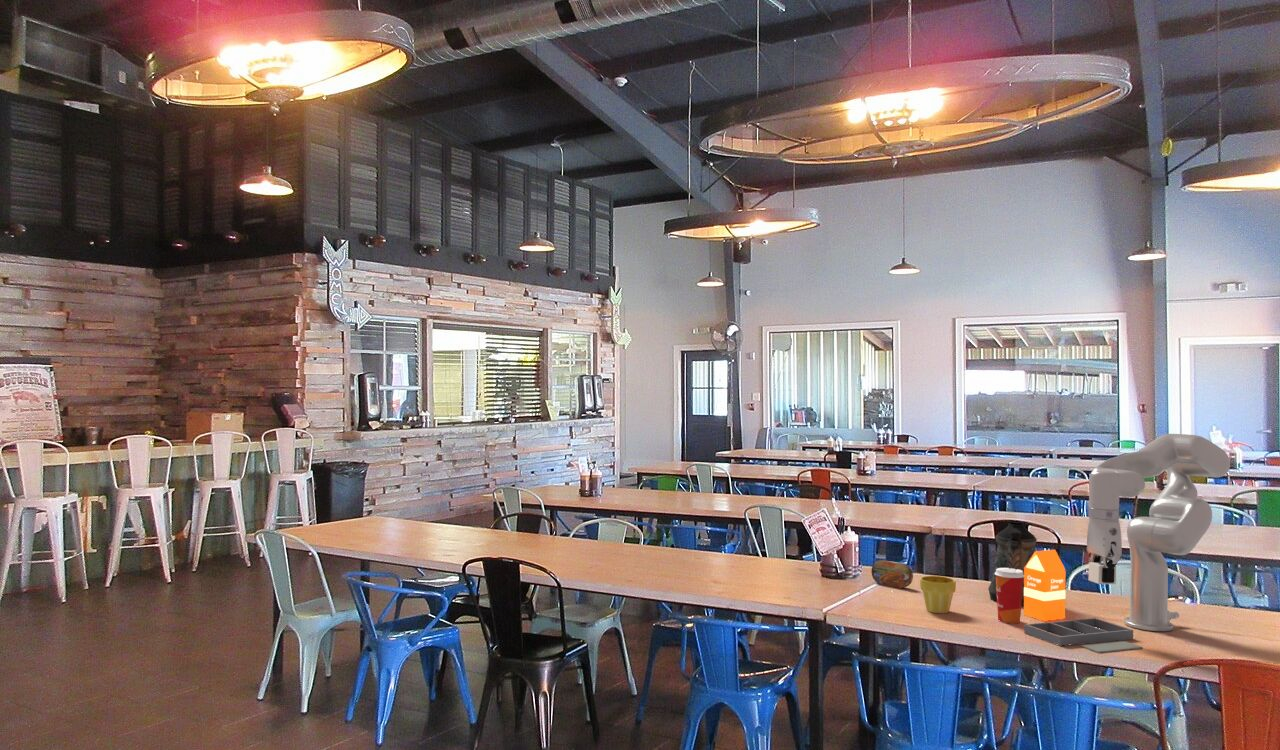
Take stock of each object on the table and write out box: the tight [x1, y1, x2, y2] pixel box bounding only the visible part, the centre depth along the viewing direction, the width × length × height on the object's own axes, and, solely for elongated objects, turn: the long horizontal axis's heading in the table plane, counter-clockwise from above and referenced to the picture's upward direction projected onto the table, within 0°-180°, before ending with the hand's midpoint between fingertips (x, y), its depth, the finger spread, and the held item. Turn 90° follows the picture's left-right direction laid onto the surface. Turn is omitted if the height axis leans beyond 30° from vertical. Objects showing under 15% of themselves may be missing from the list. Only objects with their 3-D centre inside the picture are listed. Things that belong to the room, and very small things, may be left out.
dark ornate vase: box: [987, 522, 1038, 607], centre depth 293 cm, size 16×19×25 cm
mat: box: [1079, 640, 1143, 654], centre depth 242 cm, size 15×6×1 cm, turn 109°
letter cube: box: [1088, 561, 1117, 585], centre depth 254 cm, size 5×5×5 cm
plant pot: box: [919, 575, 957, 614], centre depth 279 cm, size 10×10×10 cm
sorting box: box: [1024, 617, 1134, 647], centre depth 253 cm, size 25×13×2 cm, turn 109°
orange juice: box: [1023, 549, 1067, 622], centre depth 274 cm, size 8×9×20 cm
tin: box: [870, 559, 914, 589], centre depth 314 cm, size 15×3×8 cm, turn 43°
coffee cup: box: [995, 568, 1025, 624], centre depth 268 cm, size 8×8×15 cm
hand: (1102, 579), depth 254 cm, fingers closed on letter cube, 5 cm apart
